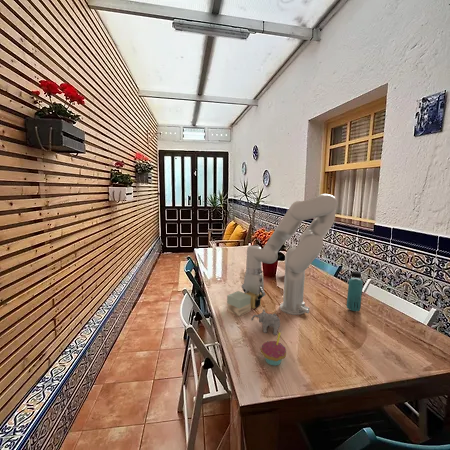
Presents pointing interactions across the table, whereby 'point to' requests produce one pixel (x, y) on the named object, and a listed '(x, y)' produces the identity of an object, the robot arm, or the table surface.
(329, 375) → the table surface
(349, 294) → the beverage bottle
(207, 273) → the table surface
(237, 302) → the pale green square block
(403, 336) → the table surface
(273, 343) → the cupcake
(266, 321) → the gray elephant figurine
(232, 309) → the tower base
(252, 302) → the block
